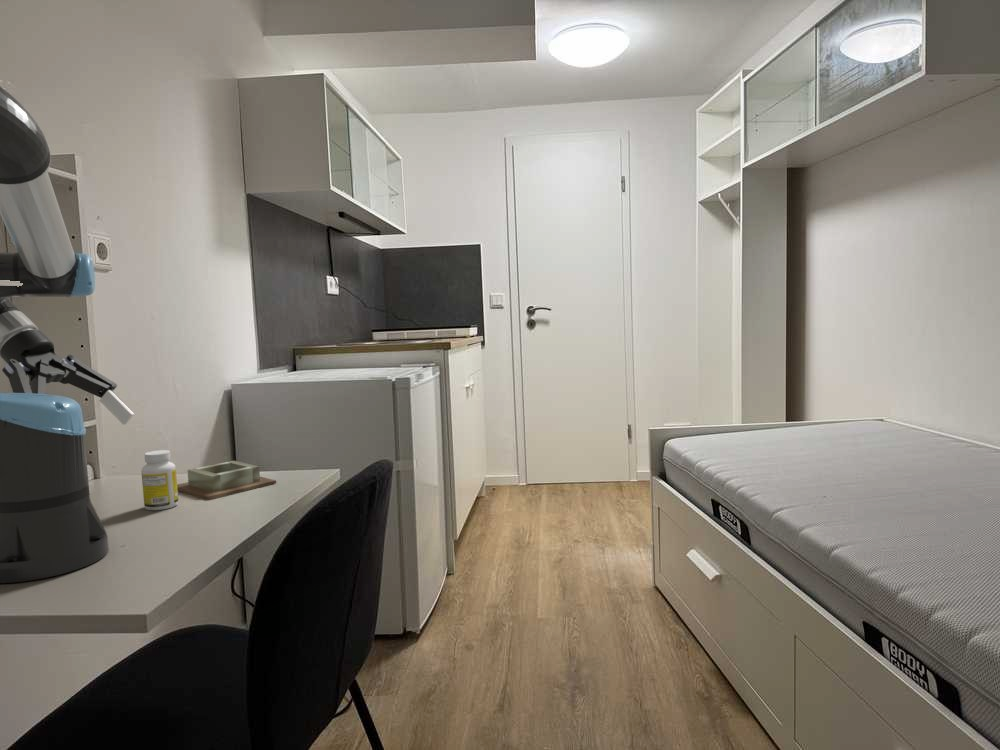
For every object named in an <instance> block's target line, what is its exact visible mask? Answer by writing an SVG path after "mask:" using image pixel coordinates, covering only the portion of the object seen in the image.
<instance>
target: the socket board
mask: <svg viewBox="0 0 1000 750" xmlns="http://www.w3.org/2000/svg"><path fill="white" fill-rule="evenodd" d="M260 472H261V471H260V466H259V465H254V464H250V463H246V462H242V461H237V460H230V461H226V462H220V463H214V464H210V465H205V466H200V467H194V468H190V469H187V481H186V482H182V483H177V490H178V492H182V493H185V494H189V495H191V496H195V497H198V498H202V499H205V500H208V501H209V500H214V499H218V498H222V497H226V496H231V495H234V493H235V494H238V493H243V492H246V491H251V490H254V489H258V488H262V487H267V486H271V485H270V484H272V485H275V484H274V483H276V484H277V480H275V479H272V478H269V477H263V476H261V475H260Z"/></svg>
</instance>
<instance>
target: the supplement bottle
mask: <svg viewBox="0 0 1000 750" xmlns="http://www.w3.org/2000/svg"><path fill="white" fill-rule="evenodd" d="M170 460H171V451H170V450H168V449H167V450H166V449H160V450H152V451H147V452H145V453H144V462H145V463H146V464H145V465H144V466H143V467H142V468H141V471H140V472H141V482H142V496H143V504H144V505H143V506H144V508H145V510H147V511H163V510H167V509H171V508H174V507H176V506H178V504H179V491H178V490H177V484H178V482H177V481H178V480H177V469H176V464H174V462H172V461H170Z"/></svg>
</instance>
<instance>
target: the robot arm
mask: <svg viewBox="0 0 1000 750" xmlns="http://www.w3.org/2000/svg"><path fill="white" fill-rule="evenodd" d="M51 155H52V154H51V151H50V148H49V146H48V142H47V140H46V136H45V135H44V132H43V131H42V130H41V127H40V126H39V125H38V123H37V121H36V120H35V118H34V117H33V116H32V115H31V114H30V112H28V110H27V109H26V108H25V107H24V106H23V105H22V104H21V102H19V101H18V100H17V99H16V98H15V97H14V96H13V95H12V94H10V93H9V92H8V91H7V90H6V89H5V88H3V87H2V86H1V85H0V217H1V219H2V222H3V223H4V226H5V227H6V229H7V232H8V234H9V237H10V239H11V240H12V242H13V244H14V247H15V248H16V251H17V252H3V251H2V252H0V280H10V281H20V283H23V285H22V286H19V287H17V286H0V358H2V359H3V361H4V362H5V363H6V364H5V366H4V367H3V368H2V370H1V371H2V372H3V373H4V375H5V376H6V377H7V379H8V382H9V384H10V386H11V387H10V388H11V390H12V392H5V393H3V392H0V584H13V583H21V582H22V583H23V582H29V581H35V580H37V581H38V580H41V579H48V578H50V577H55V576H60V575H63V574H66V573H70V572H73V571H77V570H79V569H82V568H84V567H88V566H89V565H91V564H94V563H96V562H98V561H99V560H101V559H102V558H104V557H106V556H107V554H108V553H109V551H110V549H109V548H110V547H109V537H108V534H107V533H108V532H107V531H106V530H105V527H104V525H103V523H102V521H101V519H100V517H99V515H98V513H97V510H96V509H95V506H94V505H93V503H92V500H91V496H90V495H91V493H90V482H89V472H88V471H89V470H88V462H87V461H88V460H87V450H86V449H87V447H86V434H87V429H86V428H85V423H84V417H83V411H82V410H83V409H82V406H81V405H80V403H79V402H77V401H76V400H75V399H73V398H71V397H67V396H63V395H57V394H46V392H47V389H46V388H47V384H50V383H61V384H62V385H67V384H68V385H71V386H74V387H76V388H78V389H80V390H82V391H85V392H87V393H89V394H91V395H93V396H96V397H98V398H100V399H99V400H98V401H99V402H100V403H101V404H102V405H103V406H104V407H105V408H106V409H107V410H108V411H109V412H110V413H111V414H112V415H113V416H114V417H115V418H116V419H117V420H118V421H119V422H120V423H121V425H127V424H128V423H129V421H131V419H132V418H133V416H134V415H135V412H133V411H132V409H130V408H129V407H128V406H127V405H126V404H125V403H124V402H123V400H122V399H121V398H120V397H119V396H118V395H117V394H115V392H114V390H115V389H116V388H117V387H118V384H117V383H116V382H114V381H113V380H111V379H109V378H107V377H106V376H104V375H103V374H101V373H99V372H98V371H97V370H95V369H93V368H92V367H90V366H88V365H86V364H85V363H83V362H81V361H80V359H79V358H77V357H76V356H75V355H74V354H71V353H69V354H68V355H67V356H66V357H65V358H62V357H61V356H59V355H57V353H55V344H54V343H53V342H52V340H50V338H49V337H48V336H47V335H46V334H45V333H43V331H41V330H39V327H38V326H37V325H36V324H35V323H34V322H33V321H32V320H31V319H30V318H29V317H28V316H26V314H24V312H22V311H21V310H20V309H19V308H18V307H17V306H16V305H15V304H14V303H13V302H12V301H11V299H10V298H12V297H14V298H20V297H21V298H22V297H23V298H25V297H26V298H29V297H32V298H33V297H34V298H35V297H36V298H39V297H41V298H43V297H44V298H45V297H52V298H53V297H58V298H59V297H61V298H62V297H64V298H65V297H66V298H72V297H83V296H84V297H85V296H86V297H87V296H90V295H92V294H93V293H94V291H95V290H96V289H95V288H96V277H95V275H96V274H95V268H94V266H95V265H94V262H93V259H92V257H91V256H90V255H88V254H86V253H78V252H75V251H74V248H73V245H72V243H71V239H70V237H69V233H68V230H67V227H66V223H65V221H64V218H63V215H62V213H61V212H62V211H61V208H60V205H59V202H58V199H57V197H56V194H55V190H54V187H53V184H52V182H51V178H50V175H49V172H48V170H49V168H50V166H51V163H52V157H51ZM67 372H68V373H67ZM28 378H29V380H28Z"/></svg>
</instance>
